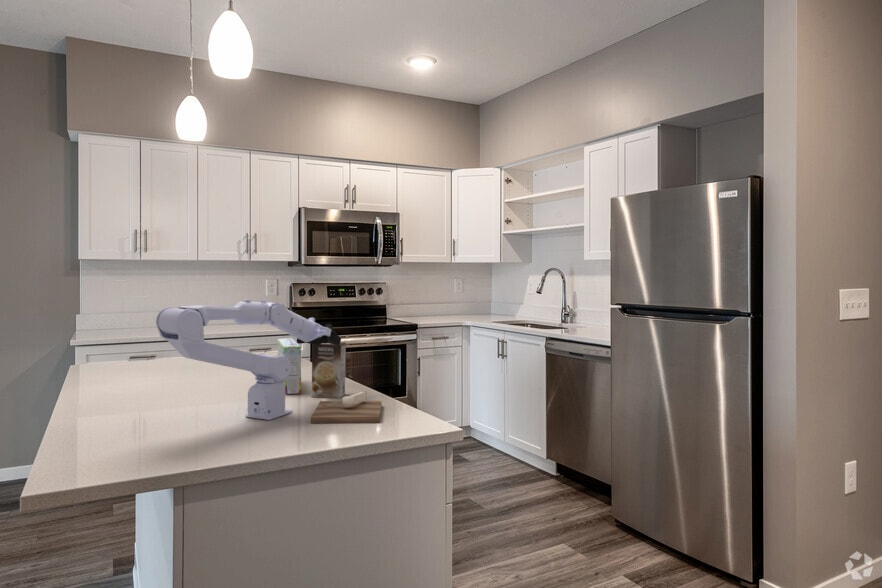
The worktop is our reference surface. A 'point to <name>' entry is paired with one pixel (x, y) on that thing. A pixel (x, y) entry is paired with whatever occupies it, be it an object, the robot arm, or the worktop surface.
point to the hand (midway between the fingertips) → (329, 341)
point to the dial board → (347, 412)
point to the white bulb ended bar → (354, 399)
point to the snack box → (293, 353)
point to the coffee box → (328, 370)
